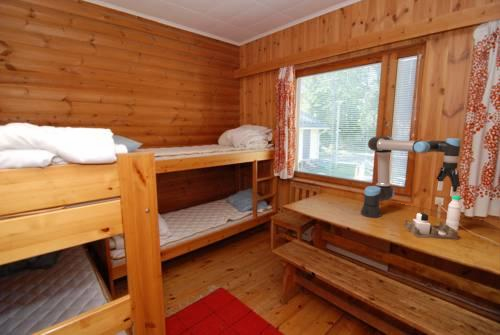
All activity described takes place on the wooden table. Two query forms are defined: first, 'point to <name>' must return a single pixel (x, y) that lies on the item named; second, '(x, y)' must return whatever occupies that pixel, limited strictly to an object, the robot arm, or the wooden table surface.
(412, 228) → the rack
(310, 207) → the wooden table surface
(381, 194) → the robot arm
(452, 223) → the water bottle
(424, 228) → the container
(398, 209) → the wooden table surface
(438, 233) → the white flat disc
